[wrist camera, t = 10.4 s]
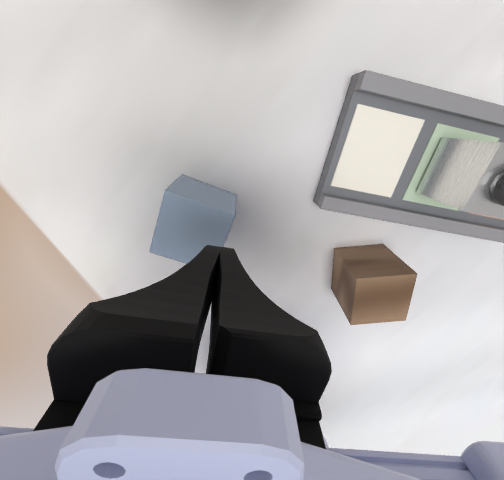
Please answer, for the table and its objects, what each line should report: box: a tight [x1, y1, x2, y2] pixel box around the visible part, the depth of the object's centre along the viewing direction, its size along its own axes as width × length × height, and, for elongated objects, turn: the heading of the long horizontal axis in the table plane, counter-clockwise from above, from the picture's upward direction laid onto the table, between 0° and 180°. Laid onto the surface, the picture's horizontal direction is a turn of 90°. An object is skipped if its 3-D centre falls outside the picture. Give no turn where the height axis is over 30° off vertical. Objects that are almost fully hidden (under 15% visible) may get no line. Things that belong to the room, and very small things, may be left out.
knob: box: [416, 137, 504, 219], centre depth 17 cm, size 4×4×5 cm
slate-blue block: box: [149, 175, 236, 263], centre depth 19 cm, size 4×4×5 cm
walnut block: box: [331, 244, 417, 325], centre depth 22 cm, size 4×4×5 cm
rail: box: [314, 70, 504, 243], centre depth 19 cm, size 9×18×2 cm, turn 79°
